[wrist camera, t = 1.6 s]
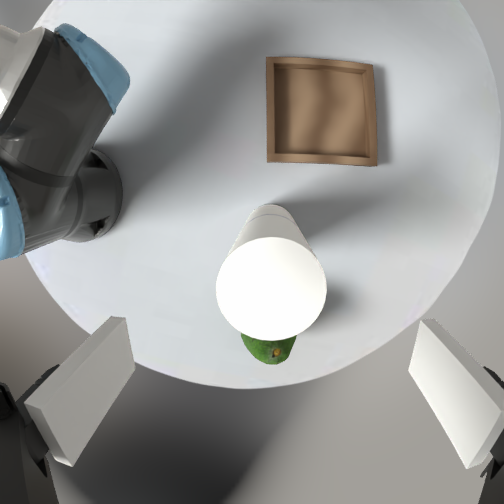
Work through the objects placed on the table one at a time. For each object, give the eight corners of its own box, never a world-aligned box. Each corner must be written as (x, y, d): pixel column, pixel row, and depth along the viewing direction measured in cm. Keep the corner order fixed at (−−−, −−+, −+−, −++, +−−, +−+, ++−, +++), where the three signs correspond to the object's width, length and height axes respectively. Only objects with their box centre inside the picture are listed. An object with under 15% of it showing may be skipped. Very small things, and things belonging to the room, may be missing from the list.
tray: (267, 162, 42) (266, 161, 39) (266, 64, 38) (266, 56, 35) (370, 166, 41) (377, 165, 38) (366, 71, 37) (372, 64, 34)
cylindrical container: (304, 221, 43) (348, 274, 19) (278, 262, 45) (287, 356, 21) (262, 194, 43) (252, 215, 18) (236, 237, 44) (196, 307, 20)
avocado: (289, 338, 48) (294, 383, 36) (240, 331, 48) (232, 375, 36) (299, 293, 46) (308, 330, 34) (247, 285, 46) (240, 320, 34)
